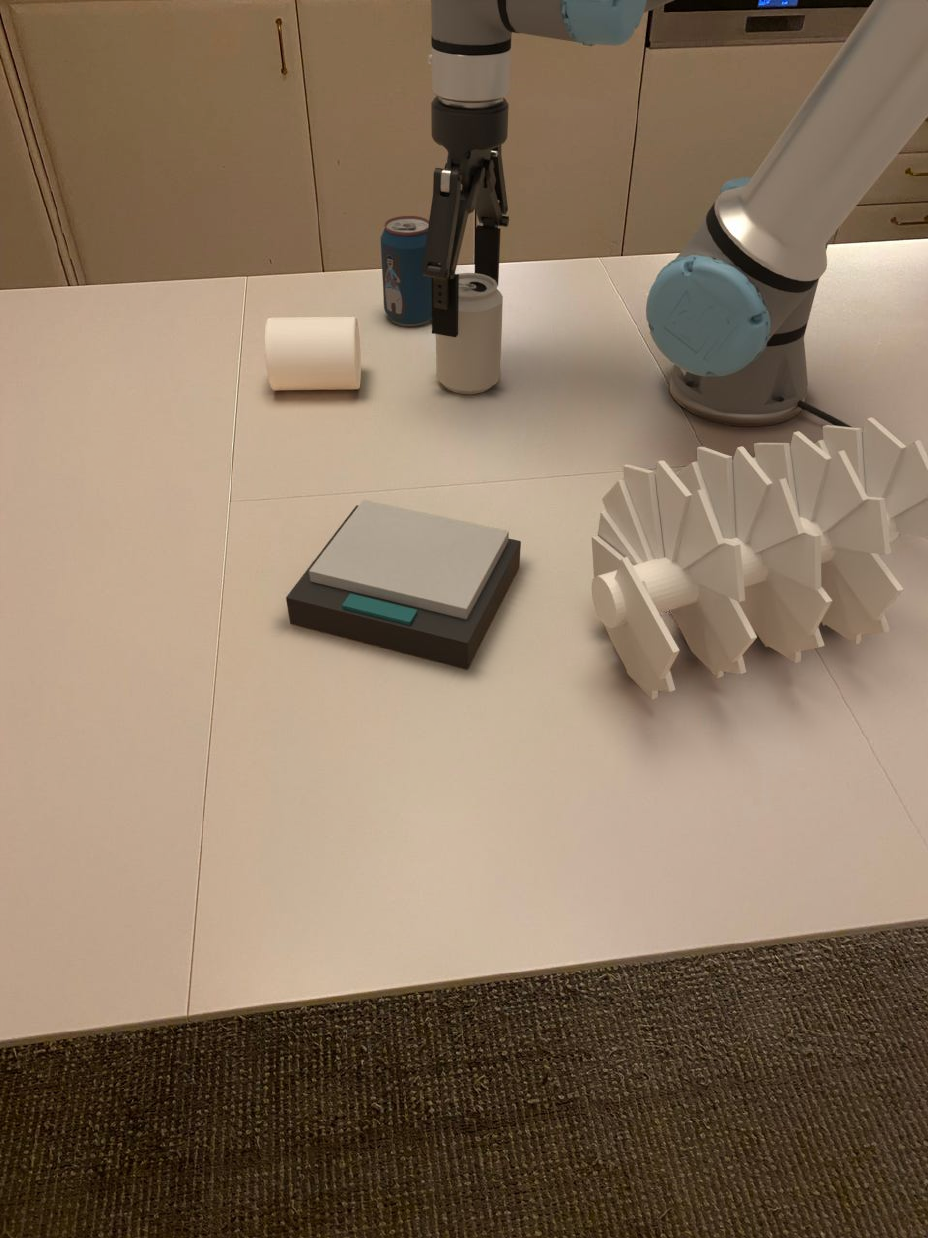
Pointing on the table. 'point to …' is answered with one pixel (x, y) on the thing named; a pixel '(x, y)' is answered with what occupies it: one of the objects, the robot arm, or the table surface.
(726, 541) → the spiral staircase
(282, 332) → the white coffee cup
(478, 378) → the can
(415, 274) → the soda can
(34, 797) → the table surface
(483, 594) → the scale
